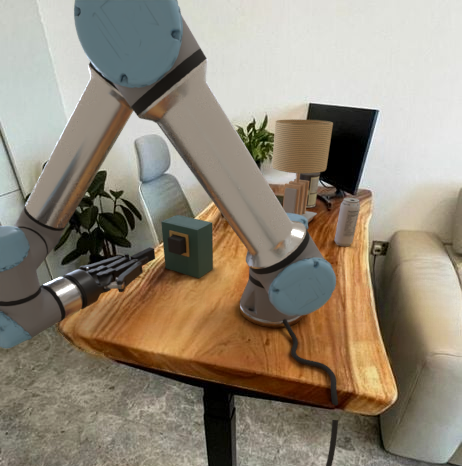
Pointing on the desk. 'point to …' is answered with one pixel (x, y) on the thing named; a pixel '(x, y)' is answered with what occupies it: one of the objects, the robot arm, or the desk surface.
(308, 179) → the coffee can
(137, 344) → the desk surface
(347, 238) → the energy drink can
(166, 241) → the teal green box
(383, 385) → the desk surface
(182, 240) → the button
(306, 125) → the desk lamp
